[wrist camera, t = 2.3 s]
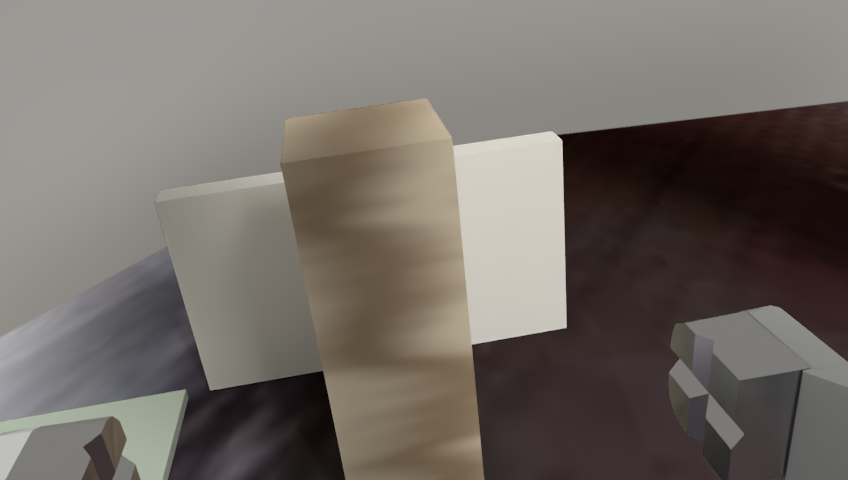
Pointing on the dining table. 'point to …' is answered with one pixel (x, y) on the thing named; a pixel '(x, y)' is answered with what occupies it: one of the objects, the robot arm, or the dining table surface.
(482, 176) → the upright white panel
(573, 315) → the dining table surface
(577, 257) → the dining table surface
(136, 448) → the pad
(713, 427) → the robot arm
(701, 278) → the dining table surface
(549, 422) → the dining table surface
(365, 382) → the marked block
